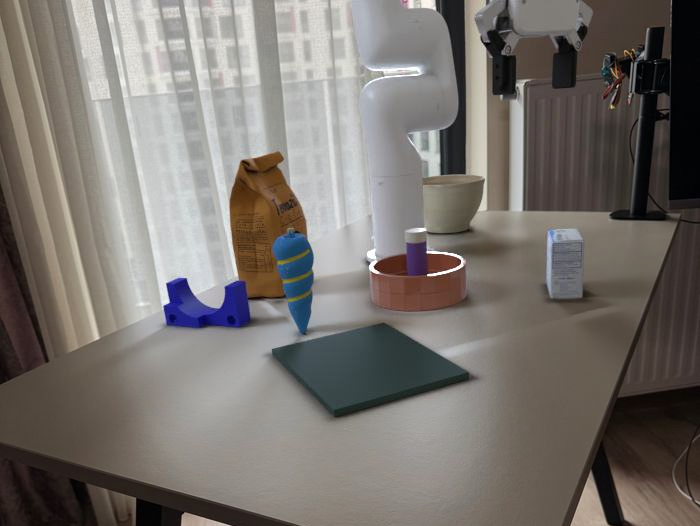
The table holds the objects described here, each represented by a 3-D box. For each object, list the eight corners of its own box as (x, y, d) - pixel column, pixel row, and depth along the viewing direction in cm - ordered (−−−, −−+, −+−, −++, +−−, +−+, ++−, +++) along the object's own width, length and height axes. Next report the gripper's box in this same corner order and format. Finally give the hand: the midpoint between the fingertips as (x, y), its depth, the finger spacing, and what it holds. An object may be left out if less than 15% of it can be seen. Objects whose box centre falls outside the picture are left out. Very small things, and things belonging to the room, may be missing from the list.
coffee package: (322, 281, 111) (309, 148, 103) (282, 304, 101) (264, 158, 93) (274, 278, 116) (258, 151, 108) (232, 299, 106) (210, 160, 98)
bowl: (356, 297, 101) (353, 262, 99) (434, 280, 107) (433, 247, 104) (400, 321, 89) (398, 283, 87) (485, 301, 94) (485, 264, 92)
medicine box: (582, 301, 91) (585, 240, 88) (549, 301, 92) (551, 241, 89) (576, 284, 98) (578, 227, 95) (545, 285, 99) (547, 229, 96)
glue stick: (404, 295, 98) (401, 230, 95) (422, 291, 100) (419, 226, 96) (414, 300, 96) (411, 233, 92) (432, 296, 97) (430, 230, 93)
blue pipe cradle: (166, 324, 96) (159, 286, 94) (185, 315, 100) (178, 277, 98) (233, 330, 91) (227, 290, 89) (251, 320, 95) (245, 281, 93)
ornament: (292, 342, 85) (278, 229, 79) (278, 332, 89) (263, 224, 84) (327, 334, 87) (316, 222, 82) (312, 324, 91) (300, 217, 86)
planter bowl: (498, 230, 137) (498, 178, 133) (427, 241, 133) (425, 187, 129) (464, 219, 151) (464, 171, 147) (400, 228, 147) (397, 179, 143)
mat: (272, 354, 82) (271, 348, 81) (384, 327, 87) (384, 322, 87) (334, 417, 65) (333, 410, 64) (469, 378, 70) (469, 372, 70)
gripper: (567, -68, 77) (561, 87, 83) (453, -74, 69) (456, 98, 75) (621, -85, 71) (610, 84, 77) (503, -93, 63) (502, 96, 69)
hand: (534, 91), depth 76 cm, fingers open, 9 cm apart
